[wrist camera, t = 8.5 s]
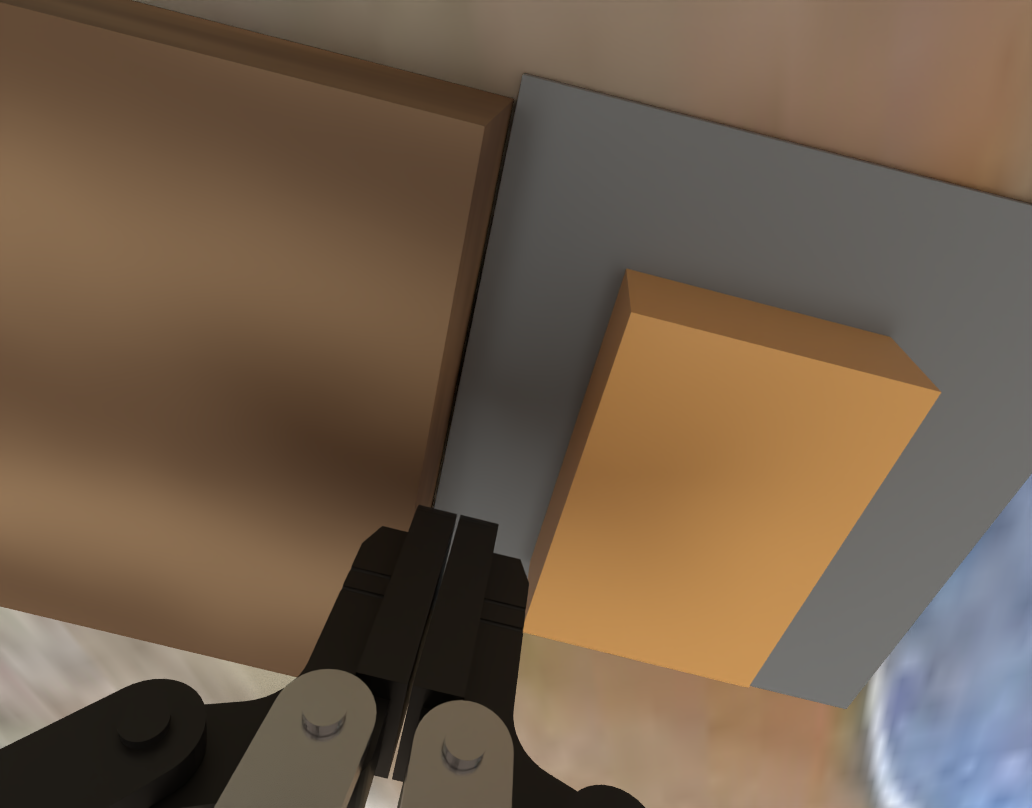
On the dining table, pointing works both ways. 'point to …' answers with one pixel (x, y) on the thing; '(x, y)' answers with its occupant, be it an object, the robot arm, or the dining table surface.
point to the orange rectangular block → (714, 476)
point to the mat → (767, 280)
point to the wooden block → (222, 318)
